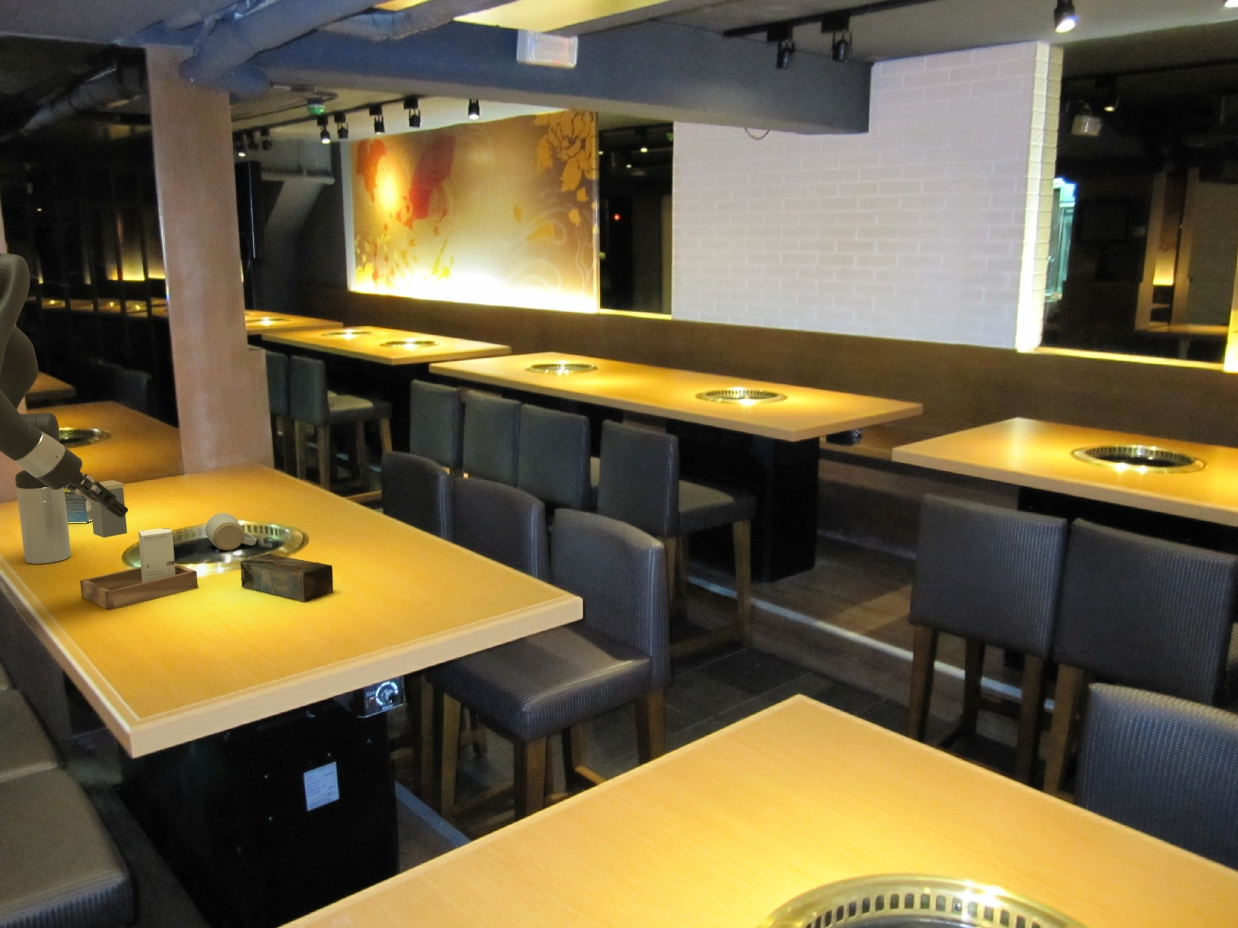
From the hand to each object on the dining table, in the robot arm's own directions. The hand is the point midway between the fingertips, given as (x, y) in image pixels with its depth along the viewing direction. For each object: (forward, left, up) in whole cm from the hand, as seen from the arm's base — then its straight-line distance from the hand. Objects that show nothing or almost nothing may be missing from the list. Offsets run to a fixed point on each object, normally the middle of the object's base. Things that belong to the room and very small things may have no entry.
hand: (118, 511), depth 198 cm
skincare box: (0, +7, -18) cm, 19 cm away
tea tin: (0, -2, -4) cm, 5 cm away
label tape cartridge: (-70, +19, -18) cm, 75 cm away
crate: (0, +3, -17) cm, 18 cm away
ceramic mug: (-17, +33, -18) cm, 41 cm away
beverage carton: (+22, +23, -18) cm, 36 cm away
